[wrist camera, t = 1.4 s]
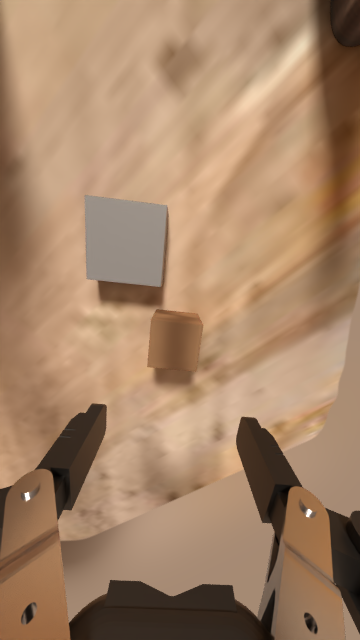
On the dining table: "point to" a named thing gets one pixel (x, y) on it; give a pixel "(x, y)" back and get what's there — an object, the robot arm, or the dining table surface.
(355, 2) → the boot
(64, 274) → the dining table surface
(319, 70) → the dining table surface
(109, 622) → the robot arm
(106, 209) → the slate block
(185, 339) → the walnut cube
